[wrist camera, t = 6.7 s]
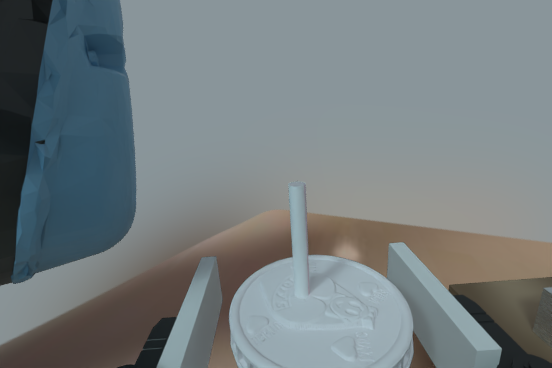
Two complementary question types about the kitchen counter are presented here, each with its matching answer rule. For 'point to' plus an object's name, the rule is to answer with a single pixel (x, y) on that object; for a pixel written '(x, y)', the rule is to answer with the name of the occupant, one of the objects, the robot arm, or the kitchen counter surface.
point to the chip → (544, 317)
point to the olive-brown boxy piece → (512, 308)
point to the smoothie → (319, 310)
